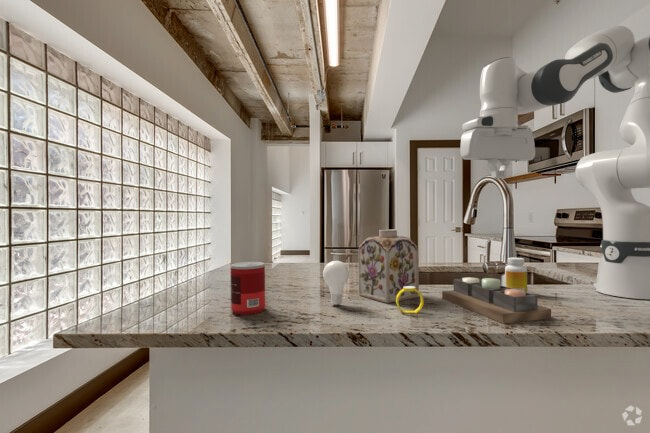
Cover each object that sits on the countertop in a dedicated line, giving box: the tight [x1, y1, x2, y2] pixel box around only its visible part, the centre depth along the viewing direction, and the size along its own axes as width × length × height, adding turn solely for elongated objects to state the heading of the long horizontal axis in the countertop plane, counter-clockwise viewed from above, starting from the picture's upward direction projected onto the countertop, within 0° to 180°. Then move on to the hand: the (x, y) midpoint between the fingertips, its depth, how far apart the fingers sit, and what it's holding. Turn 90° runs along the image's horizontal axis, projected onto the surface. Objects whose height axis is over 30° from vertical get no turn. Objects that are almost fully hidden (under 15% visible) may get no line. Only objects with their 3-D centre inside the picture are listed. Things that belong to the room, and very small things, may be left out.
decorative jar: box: [357, 228, 420, 304], centre depth 101 cm, size 12×12×18 cm
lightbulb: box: [322, 260, 350, 307], centre depth 92 cm, size 6×6×11 cm
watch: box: [395, 286, 425, 315], centre depth 85 cm, size 6×3×6 cm, turn 89°
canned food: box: [230, 261, 266, 316], centre depth 89 cm, size 8×8×11 cm
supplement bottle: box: [504, 256, 528, 293], centre depth 102 cm, size 5×5×10 cm
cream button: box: [461, 276, 480, 283], centre depth 96 cm, size 4×4×3 cm
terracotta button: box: [505, 289, 525, 297], centre depth 81 cm, size 4×4×3 cm
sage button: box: [481, 277, 501, 289], centre depth 88 cm, size 4×4×3 cm
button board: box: [441, 278, 552, 325], centre depth 88 cm, size 12×22×5 cm, turn 15°
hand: (498, 177), depth 97 cm, fingers closed
